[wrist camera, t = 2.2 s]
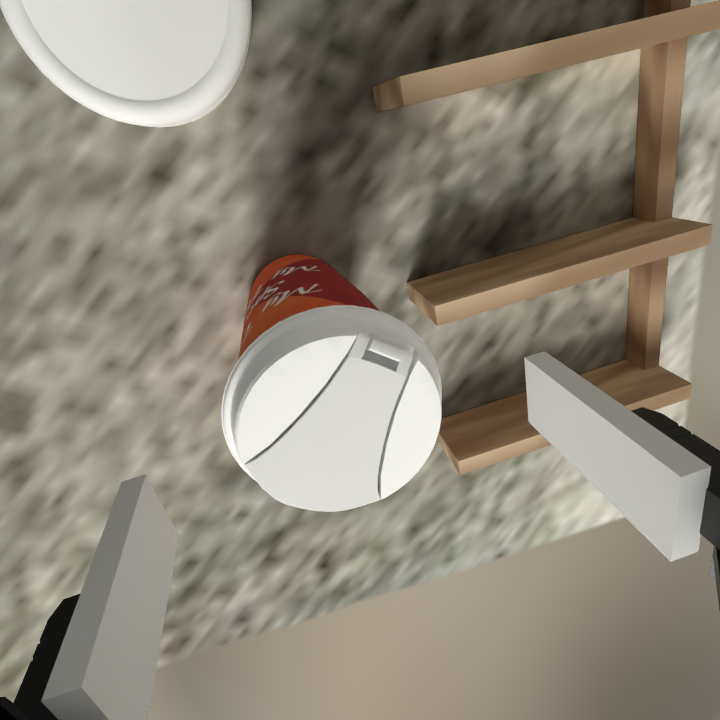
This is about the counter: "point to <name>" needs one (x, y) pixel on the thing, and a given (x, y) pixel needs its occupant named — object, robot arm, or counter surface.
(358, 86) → the counter surface
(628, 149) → the counter surface
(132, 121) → the white round dish
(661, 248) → the oak rack
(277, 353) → the coffee cup
